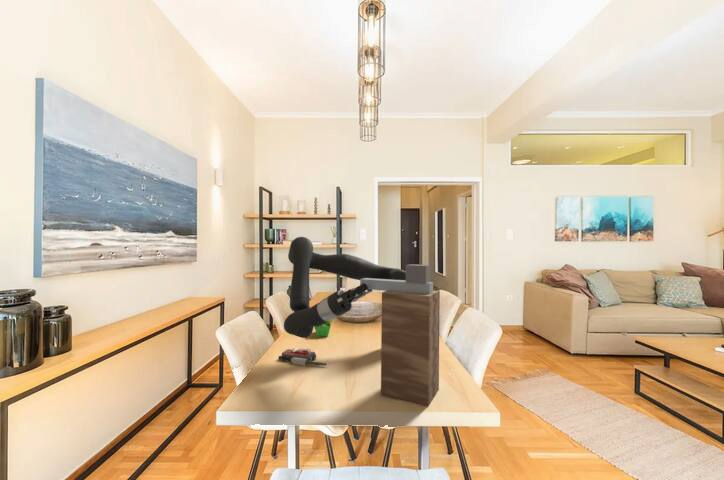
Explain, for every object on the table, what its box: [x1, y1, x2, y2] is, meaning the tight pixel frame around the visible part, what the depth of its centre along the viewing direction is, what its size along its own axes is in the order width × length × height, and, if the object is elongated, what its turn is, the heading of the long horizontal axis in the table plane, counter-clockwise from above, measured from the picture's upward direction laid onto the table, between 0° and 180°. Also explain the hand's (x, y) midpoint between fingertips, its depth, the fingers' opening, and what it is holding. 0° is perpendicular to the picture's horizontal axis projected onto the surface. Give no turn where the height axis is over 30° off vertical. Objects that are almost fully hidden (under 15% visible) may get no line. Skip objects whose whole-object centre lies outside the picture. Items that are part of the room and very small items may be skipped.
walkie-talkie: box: [278, 347, 327, 366], centre depth 128 cm, size 9×4×20 cm
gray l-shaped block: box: [359, 263, 434, 294], centre depth 104 cm, size 5×22×8 cm, turn 64°
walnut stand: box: [380, 289, 441, 407], centre depth 102 cm, size 12×14×30 cm
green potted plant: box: [313, 320, 333, 338], centre depth 164 cm, size 11×9×11 cm
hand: (372, 284), depth 107 cm, fingers open, 8 cm apart
